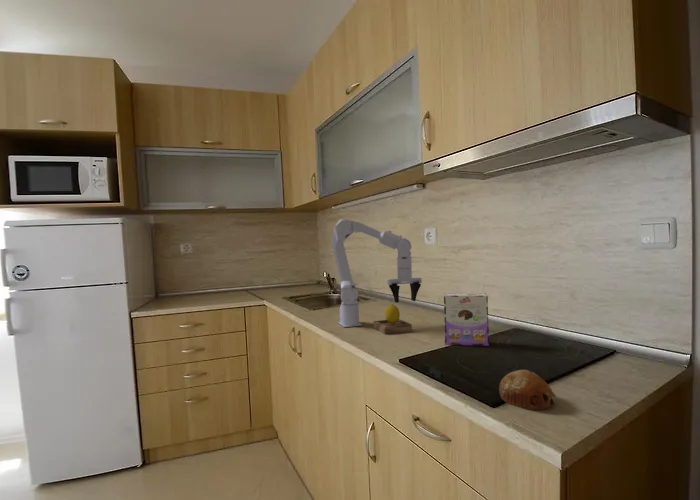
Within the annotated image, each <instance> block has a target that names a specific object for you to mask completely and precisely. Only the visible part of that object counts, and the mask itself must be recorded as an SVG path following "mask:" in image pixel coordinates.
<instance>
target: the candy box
mask: <svg viewBox="0 0 700 500" xmlns="http://www.w3.org/2000/svg"><path fill="white" fill-rule="evenodd" d="M488 299H489V297H488V295H487V294H486V293H482V292H481V293H478V292H477V293H476V292H475V293H473V292H472V293H471V292H470V293H467V292H466V293H465V292H463V293H461V292H460V293H459V292H457V293H453V292H451V293H450V292H449V293H447V292H445V293H443V313H444V315H443V317H444V318H443V319H444V320H443V321H444V345H447V346H449V345H450V346H451V345H453V346H455V345H456V346H475V347H476V346H478V347H490V338H489V337H490V334H489V333H490V332H489V331H490V330H489V329H490V328H489V301H488Z"/></svg>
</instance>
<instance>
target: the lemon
mask: <svg viewBox="0 0 700 500" xmlns="http://www.w3.org/2000/svg"><path fill="white" fill-rule="evenodd" d="M384 315H385V320H387V321H388V322H389V323H391V324H392V325H394V323H396V322H397V321H398V320H399V319H400V316H401V315H400V309H399V307H397V306H396V305H394V304H390V305H388V306H387V307H386V308H385V312H384Z"/></svg>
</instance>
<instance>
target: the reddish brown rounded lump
mask: <svg viewBox="0 0 700 500" xmlns="http://www.w3.org/2000/svg"><path fill="white" fill-rule="evenodd" d="M498 391H499V396H500V398H501V400H502V401H504V402H505V403H506V404H508V405H510V406H514V407H517V408H519V409H520V408H521V409H524V410H528V411H529V410H530V411H543V410H547V409H549V408H550V407H551V406H554V405H555V401H553V398H554V397H555V398H556V397H557V395H556V394H555V392H554V391H553V389H552V388H551V386H550V385H549V384H548V383H547V382H546V381H545V380H544V379H543V378H541V376H539V375H538V374H537V373H535V372H533V371H530V370H528V369H518V370H517V369H516V370H515V371H511V372H509V373H507V374H506V375H505V376H503V378H502V379H501V380H500V382H499V386H498ZM552 397H553V398H552Z"/></svg>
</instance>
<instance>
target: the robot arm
mask: <svg viewBox="0 0 700 500" xmlns="http://www.w3.org/2000/svg"><path fill="white" fill-rule="evenodd" d="M392 232H393V231H391V230H384V231H379V230H377V229H375V228H373V227H371V226H368V225H366V224H364V223H362V222H359V221H355V220H349V219H347V218H341V219H339V220H338V222H336V224H335V225H334V227H333V233H332V236H331V240H330V244H331V247H332V252H333V256H334V260H335V264H336V268H337V272H338V277H339V281H340V300H341V302H340V303H341V304H340V307H339V321H338V322H337V324H339V325H340V326H342V327H343V328H350V327H360V326H361V327H362V326H363V323H361V322H360V308H359V307H360V305H359V304H360V303H359V301H358V298H359V295H360V294H359V289H357V287H356V286H355V285H356V284H355V282H354V280H353V277H352V274H351V270H350V265H349V261H348V257H347V252H346V249H345V245H344V243H345V241H346V240H347V239H348V238H349V237H350V236H351V235H352V234H353V233H363V234H365V235H367V236H370V237H373V238H375V239H377V240H378V241H379V244H380V245H383V246H386V247H389V249H390V248H391V249H393V250H395V249H396V250H397V257H396V262H397V263H396V265H397V268H396V269H397V278H393V279H387V285H388V287H389V289H390V291H391V294H392V296H393V299H394V302H395V303H396V304H397V303H399V302H400V296H399V293H400V287H401V286H400V285H404V284H409V288H410V298H411V301H412V302H416V300H417V296H418V293H419V290H420V288H421V286H422V285H421V284H423V283H422V281H423V280H422V277H413V274H412V273H413V270H412V267H413V266H412V263H413V262H412V251H411V250H412V243H411V241H410V240H409V239H407V238H406V237H404V238H403V235H398V234H395V233H392Z"/></svg>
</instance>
